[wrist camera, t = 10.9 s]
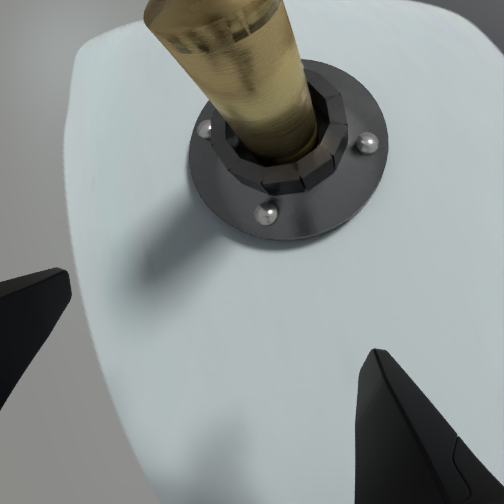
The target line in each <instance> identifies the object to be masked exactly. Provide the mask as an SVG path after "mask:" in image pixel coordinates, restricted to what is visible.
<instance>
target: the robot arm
mask: <svg viewBox="0 0 504 504" xmlns="http://www.w3.org/2000/svg"><path fill="white" fill-rule="evenodd" d="M71 296H72V292H71V286H70V279H69V274H68V272H67V271H66V270H63V269H61V268H57V267H56V268H52V269H48V270H44V271H40V272H36V273H32V274H29V275H25V276H21V277H17V278H14V279H10V280H6V281H2V282H0V410H1V408H2V407H3V405H4V403H5V402H6V400H7V398H8V397H9V395H10V394H11V392H12V390H13V389H14V387H15V386H16V384H17V382H18V381H19V379H20V378H21V376H22V375H23V373H24V372H25V370H26V369H27V367H28V366H29V364H30V363H31V361H32V360H33V358H34V357H35V355H36V354H37V352H38V351H39V349H40V348H41V347H42V345H43V344H44V342H45V341H46V339H47V338H48V337H49V335H50V333H51V332H52V330H53V328H54V326H55V325H56V323H57V321H58V320H59V318H60V316H61V315H62V313H63V311H64V310H65V308H66V306H67V305H68V303H69V302H70V300H71ZM354 504H504V486H503V485H502V484H501V483H500V482H499V481H498V480H497V479H496V478H495V477H494V476H493V475H492V474H491V473H490V472H489V471H488V469H487V468H486V467H485V466H484V465H483V464H482V463H481V462H480V461H479V460H478V458H477V457H476V456H475V455H474V454H473V453H472V451H471V450H470V449H469V448H468V447H467V445H466V444H465V443H464V442H463V440H462V439H461V438H460V437H459V436H458V437H457V433H456V432H455V431H454V429H453V428H452V427H451V426H450V425H449V423H448V422H447V421H446V420H445V418H444V417H443V416H442V415H441V414H440V412H439V411H438V410H437V409H436V408H435V406H434V405H433V404H432V403H431V402H430V400H429V399H428V398H427V397H426V396H425V394H424V393H423V392H422V391H421V390H420V389H419V387H418V386H417V385H416V384H415V383H414V382H413V380H412V379H411V378H410V377H409V376H408V374H407V373H406V372H405V371H404V370H403V369H402V368H401V366H400V365H399V364H398V363H397V362H396V361H395V359H394V358H393V357H392V356H391V355H390V354H389V353H388V352H387V351H386V350H382V349H376V348H374V349H372V350H371V351H370V352H369V354H368V356H367V358H366V360H365V362H364V364H363V366H362V368H361V370H360V373H359V379H358V394H357V407H356V419H355V503H354Z"/></svg>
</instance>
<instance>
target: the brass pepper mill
mask: <svg viewBox="0 0 504 504" xmlns="http://www.w3.org/2000/svg"><path fill="white" fill-rule="evenodd" d="M144 23H145V24H146V26H147V27H148V28H149V30H150V31H151V32H152V33H153V34H154V35H155V36H156V37H157V39H158V40H159V41H160V42H161V43H162V44H163V45H164V47H165V48H166V49H167V50H168V51H169V52H170V53H171V55H172V56H173V57H174V58H175V59H176V60H177V62H178V63H179V64H180V65H181V66H182V68H183V69H184V70H185V71H186V72H187V73H188V75H189V76H190V77H191V78H192V79H193V81H194V82H195V83H196V84H197V86H198V87H199V88H200V89H201V90H202V92H203V93H204V94H205V95H206V97H207V98H208V99H209V100H210V101H211V103H212V104H213V105H214V106H215V108H216V109H217V110H218V111H219V113H220V114H221V115H222V116H223V118H224V119H225V120H226V122H227V123H228V124H229V125H230V127H231V128H232V129H233V131H234V132H235V133H236V134H237V136H238V137H239V138H240V140H241V141H242V142H243V143H244V145H245V146H246V147H247V149H248V150H249V151H250V153H251V154H252V155H253V157H254V158H255V159H256V160H257V161H258V162H259V163H260V164H262V165H263V166H265V167H271V166H279V165H286V164H294V163H296V162H297V161H299V160H300V159H302V158H303V157H305V156H306V155H307V154H309V153H310V152H312V151H313V150H315V149H316V148H317V146H318V142H319V131H318V127H317V122H316V118H315V114H314V109H313V105H312V101H311V97H310V93H309V89H308V85H307V81H306V77H305V73H304V70H303V66H302V62H301V59H300V55H299V52H298V48H297V45H296V41H295V38H294V34H293V31H292V28H291V25H290V21H289V18H288V15H287V12H286V9H285V6H284V3H283V0H150V1H149V2H148V4H147V6H146V8H145V11H144Z"/></svg>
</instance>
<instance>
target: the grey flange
mask: <svg viewBox="0 0 504 504" xmlns="http://www.w3.org/2000/svg"><path fill="white" fill-rule="evenodd" d="M301 62H302V66H303V70H304V73H305V77H306V81H307V85H308V89H309V93H310V97H311V101H312V105H313V109H314V114H315V118H316V122H317V127H318V131H319V142H318V146H317V148H316V149H315V150H313V151H312V152H310V153H309V154H307V155H306V156H305V157H303V158H302V159H300V160H299V161H297V162H296V163H294V164H286V165H279V166H271V167H265V166H263V165H262V164H260V163H259V162H258V161H257V160H256V159H255V158H254V157H253V155H252V154H251V153H250V151H249V150H248V149H247V147H246V146H245V145H244V143H243V142H242V141H241V140H240V138H239V137H238V136H237V134H236V133H235V132H234V131H233V129H232V128H231V127H230V125H229V124H228V123H227V122H226V120H225V119H224V118H223V116H222V115H221V114H220V113H219V111H218V110H217V109H216V108H215V106H214V105H213V104H212V103H211V101H210V100H209V101H208V102H207V104H206V105H205V107H204V108H203V110H202V111H201V113H200V115H199V117H198V119H197V121H196V124H195V127H194V129H193V133H192V137H191V141H190V151H189V157H190V168H191V173H192V177H193V180H194V183H195V186H196V188H197V190H198V192H199V194H200V196H201V197H202V199H203V200H204V201H205V203H206V204H207V206H208V207H209V208H210V209H211V210H212V211H213V212H214V213H215V214H216V215H217V216H219V217H220V218H221V219H222V220H224V221H225V222H226V223H228V224H230V225H232V226H233V227H235V228H237V229H239V230H241V231H243V232H245V233H248V234H250V235H253V236H256V237H260V238H264V239H270V240H279V241H290V240H301V239H307V238H311V237H315V236H318V235H322V234H324V233H326V232H329V231H331V230H333V229H335V228H337V227H339V226H340V225H342V224H344V223H345V222H347V221H348V220H350V219H351V218H352V217H353V216H354V215H356V214H357V213H358V212H359V211H360V210H361V209H362V208H363V207H364V206H365V205H366V204H367V202H368V201H369V200H370V198H371V197H372V195H373V194H374V192H375V191H376V189H377V187H378V185H379V183H380V181H381V178H382V175H383V172H384V168H385V165H386V161H387V155H388V133H387V127H386V123H385V120H384V117H383V114H382V112H381V110H380V108H379V106H378V104H377V102H376V101H375V99H374V98H373V96H372V95H371V93H370V92H369V91H368V90H367V89H366V88H365V87H364V86H363V85H362V84H361V83H360V82H359V81H357V80H356V79H355V78H354V77H352V76H351V75H349V74H348V73H346V72H344V71H342V70H340V69H338V68H336V67H334V66H331V65H328V64H325V63H322V62H318V61H313V60H305V59H301Z"/></svg>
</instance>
